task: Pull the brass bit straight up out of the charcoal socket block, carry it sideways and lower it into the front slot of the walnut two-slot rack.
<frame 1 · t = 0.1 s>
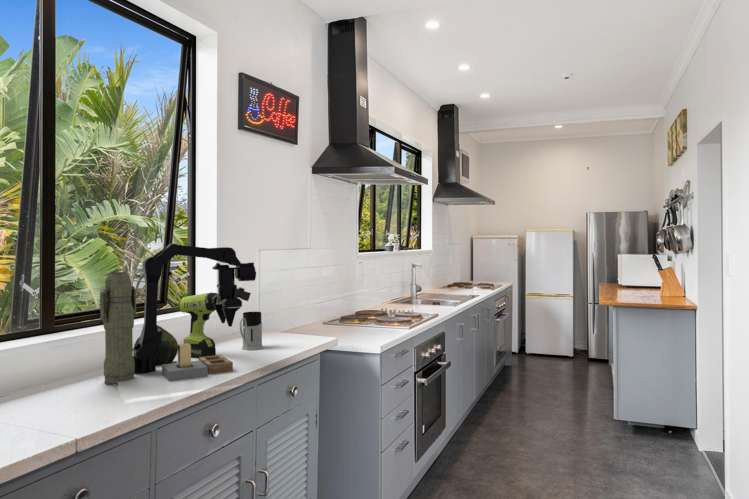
hand: (226, 324, 198), 15 cm above the worktop, fingers open, 9 cm apart
socket block: (184, 377, 180), on the worktop
cordless drill: (208, 357, 213), on the worktop
squash: (155, 365, 200), on the worktop
olive carved statue: (119, 382, 175), on the worktop
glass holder: (249, 350, 227), on the worktop
brass bit: (184, 374, 180), point 1 cm above the worktop, touching socket block
walnut rack: (215, 371, 189), on the worktop
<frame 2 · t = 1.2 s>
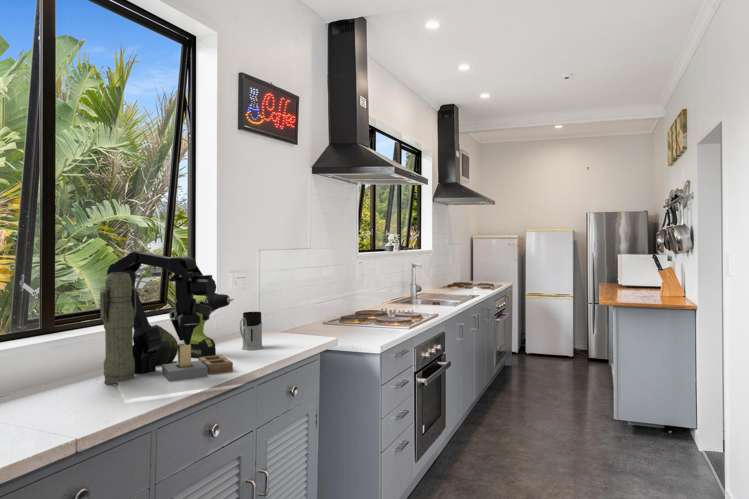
hand: (184, 342, 180), 12 cm above the worktop, fingers open, 9 cm apart
nothing on the worktop moved.
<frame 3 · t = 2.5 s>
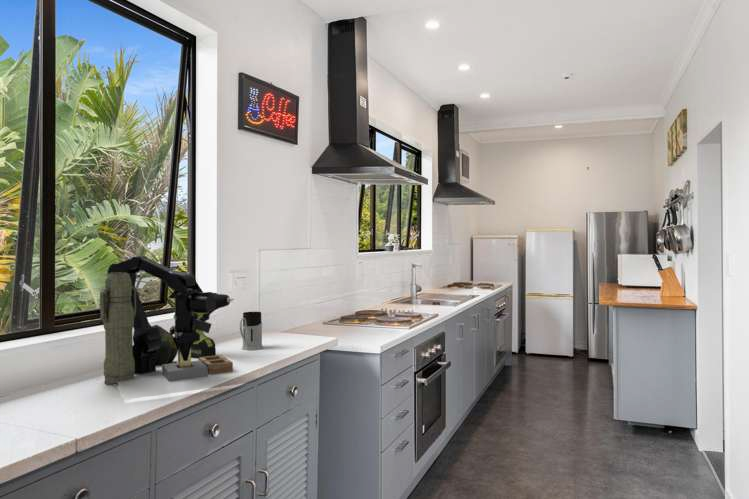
hand: (184, 359, 180), 6 cm above the worktop, fingers closed on brass bit, 3 cm apart
brass bit: (184, 374, 180), point 1 cm above the worktop, touching gripper, socket block
everything else where it was.
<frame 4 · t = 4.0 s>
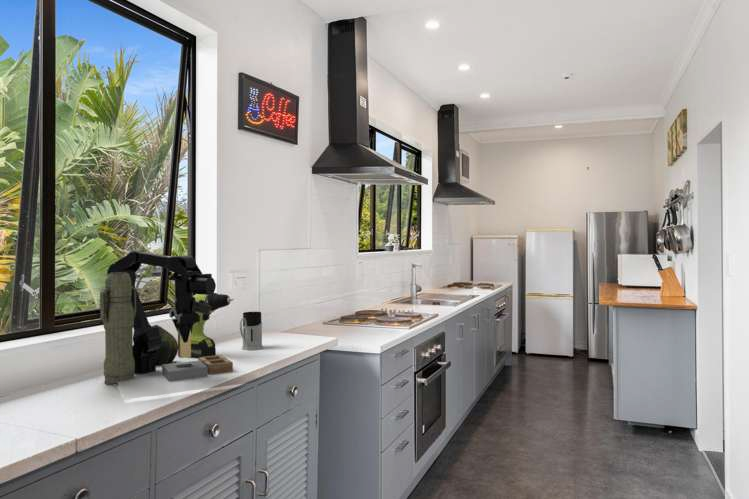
hand: (184, 341, 179), 12 cm above the worktop, fingers closed on brass bit, 3 cm apart
brass bit: (184, 356, 180), point 7 cm above the worktop, touching gripper
everything else where it was.
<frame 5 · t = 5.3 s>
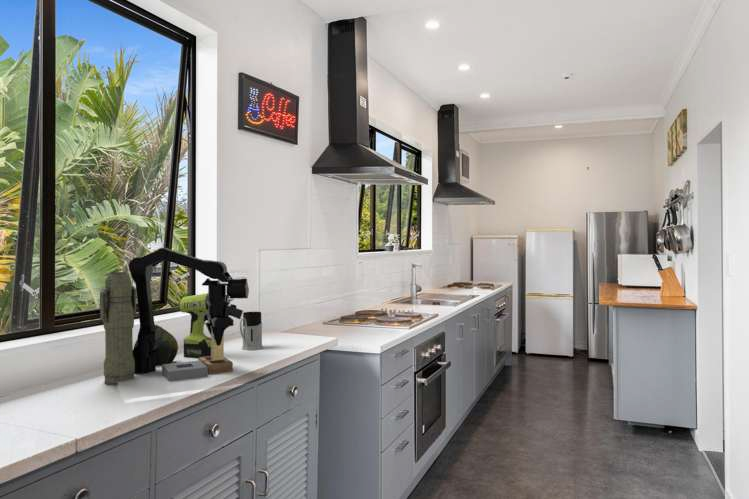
hand: (217, 344, 186), 10 cm above the worktop, fingers closed on brass bit, 3 cm apart
brass bit: (217, 359, 186), point 5 cm above the worktop, touching gripper
everything else where it was.
when the fingers open (8 cm above the worktop, at t = 5.9 s): brass bit drops 2 cm, resting on walnut rack.
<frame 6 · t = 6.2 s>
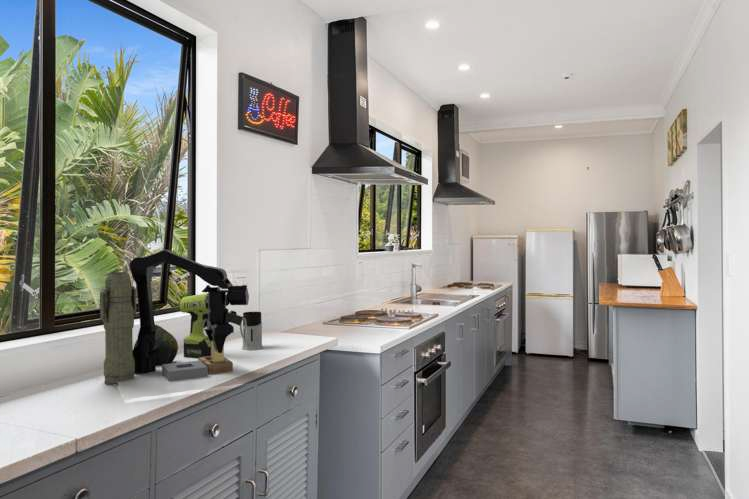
hand: (217, 351, 186), 7 cm above the worktop, fingers open, 6 cm apart
brass bit: (217, 370, 186), point 1 cm above the worktop, touching walnut rack
everything else where it was.
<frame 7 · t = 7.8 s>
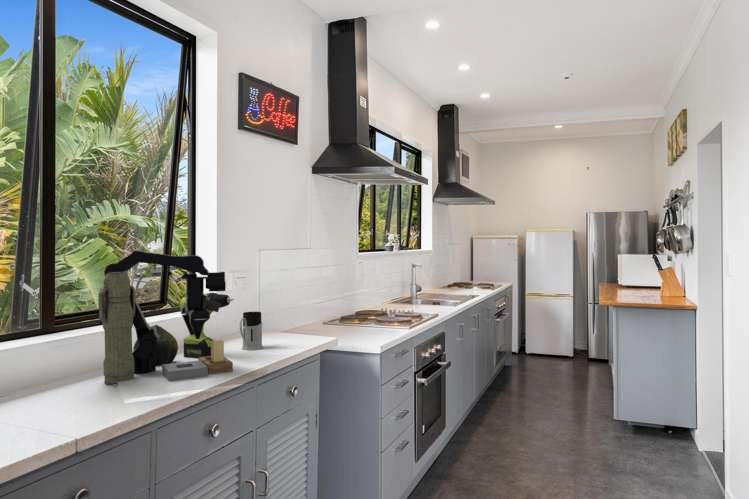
hand: (194, 337, 189), 12 cm above the worktop, fingers open, 9 cm apart
nothing on the worktop moved.
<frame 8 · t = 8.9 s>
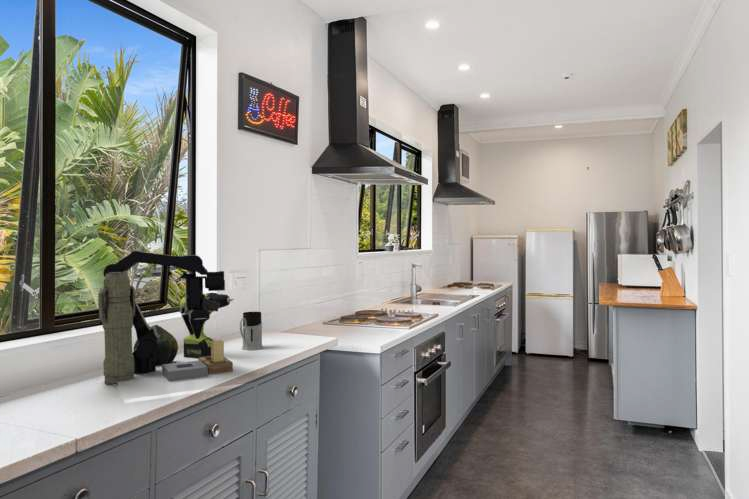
hand: (194, 336, 189), 12 cm above the worktop, fingers open, 9 cm apart
olive carved statue: (119, 381, 175), on the worktop, touching arm
everything else where it was.
at the end: brass bit 0.0 cm from the target spot on the walnut rack, point 1.0 cm above the walnut rack's base; brass bit tilted 0°; the gripper is holding nothing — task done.
